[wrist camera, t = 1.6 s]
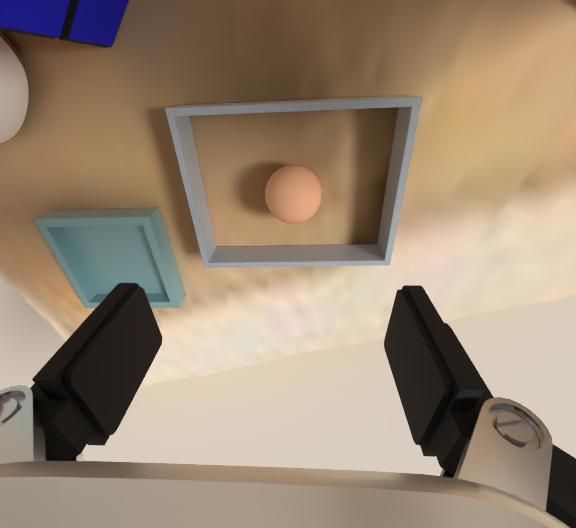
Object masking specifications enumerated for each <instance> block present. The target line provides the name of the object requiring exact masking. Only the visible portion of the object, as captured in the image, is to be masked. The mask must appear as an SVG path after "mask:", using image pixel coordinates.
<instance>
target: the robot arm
mask: <svg viewBox="0 0 576 528" xmlns="http://www.w3.org/2000/svg"><path fill="white" fill-rule="evenodd" d="M161 344H162V335H161V333H160V330H159V327H158V325H157V322H156V320H155V317H154V314H153V312H152V309H151V306H150V304H149V301H148V299H147V296H146V293H145V291H144V289H143V288H142V287H140V286H139V284H137V283H119V284H117V285H116V286H115V287H114V289H113V290H112V291H111V292H110V293H109V294H108V295H107V296H106V297H105V299H104V300H103V301H102V302H101V303H100V304H99V305H98V306H97V307H96V309H95V310H94V311H93V312H92V313H91V314H90V315H89V316H88V318H87V319H86V320H85V321H84V322H83V323H82V324H81V325H80V326H79V328H78V329H77V330H76V331H75V332H74V333H73V334H72V335H71V336H70V338H69V339H68V340H67V341H66V342H65V343H64V344H63V345H62V347H61V348H60V349H59V350H58V351H57V352H56V353H55V355H53V357H52V358H51V359H50V360H49V361H48V362H47V363H46V364H45V366H44V367H43V368H42V369H41V370H40V371H39V372H38V373H37V375H36V376H35V377H34V378H33V379H32V380H33V381H34V382H35V384H34V385H33V386H32V387H31V388H28V387H27V386H20V385H19V386H13V387H9V388H6V389H3V390H0V528H576V459H575V458H574V457H572V456H571V455H569V454H567V453H566V452H564V451H563V450H561V449H560V448H558V447H556V446H555V445H553V444H552V438H551V435H550V433H549V431H548V429H547V428H546V426H545V425H544V424H543V422H542V421H541V420H540V419H539V418H538V417H537V416H536V415H535V414H534V413H533V412H531V411H530V410H529V409H527V408H526V407H524V406H523V405H521V404H519V403H517V402H514V401H512V400H510V399H505V398H494V397H493V396H492V394H491V392H490V391H489V389H488V388H487V386H486V384H485V383H484V381H483V379H482V378H481V377H480V375H479V373H478V371H477V370H476V368H475V366H474V365H473V363H472V361H471V360H470V358H469V356H468V355H467V353H466V352H465V350H464V348H463V347H462V345H461V343H460V342H459V340H458V338H457V337H456V335H455V334H454V332H453V330H452V329H451V327H450V326H449V325H448V324H446V323H444V322H443V321H442V319H441V317H440V316H439V314H438V312H437V310H436V309H435V307H434V305H433V304H432V302H431V300H430V299H429V297H428V295H427V294H426V292H425V290H424V289H423V287H422V286H403V288H402V290H398V291H397V293H396V297H395V301H394V305H393V309H392V313H391V317H390V321H389V324H388V328H387V332H386V336H385V341H384V347H385V352H386V355H387V358H388V361H389V364H390V368H391V370H392V374H393V377H394V380H395V383H396V386H397V390H398V393H399V396H400V399H401V402H402V405H403V408H404V412H405V415H406V418H407V421H408V424H409V428H410V431H411V434H412V437H413V440H414V442H415V444H416V445H420V446H421V449H422V452H423V455H424V456H437V459H438V462H439V465H440V466H441V467H442V468H443V469H442V472H441V475H440V476H432V475H424V474H407V473H390V472H374V471H353V470H329V469H304V468H279V467H278V468H277V467H251V466H250V467H249V466H224V465H195V464H165V463H130V462H99V461H83V454H82V451H83V449H84V447H85V446H86V444H88V445H105V443H106V442H107V440H108V438H109V436H110V435H112V434H114V433H115V431H116V430H117V428H118V426H119V425H120V423H121V420H122V419H123V417H124V415H125V413H126V411H127V409H128V407H129V405H130V404H131V402H132V400H133V398H134V396H135V394H136V392H137V390H138V388H139V386H140V385H141V383H142V381H143V379H144V377H145V375H146V373H147V371H148V369H149V367H150V366H151V364H152V362H153V360H154V358H155V356H156V354H157V352H158V350H159V348H160V346H161Z"/></svg>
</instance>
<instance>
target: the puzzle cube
mask: <svg viewBox="0 0 576 528" xmlns="http://www.w3.org/2000/svg"><path fill="white" fill-rule="evenodd" d="M127 3H128V0H0V30H5V31H11V32H17V33H23V34H28V35H34V36H40V37H46V38H52V39H53V38H59V39H61V40H65V41H71V42H77V43H82V44H88V45H94V46H100V47H112V45H113V42H114V39H115V36H116V33H117V31H118V28H119V25H120V22H121V20H122V17H123V14H124V11H125V9H126V6H127Z"/></svg>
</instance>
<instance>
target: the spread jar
mask: <svg viewBox="0 0 576 528" xmlns="http://www.w3.org/2000/svg"><path fill="white" fill-rule="evenodd" d="M29 105H30V81H29V76H28V72H27V69H26V67H25V64H24V62H23V60H22V58H21V57H20V55H19V53H18V52H17V50H16V49H15V48H14V46H13V45H12V44H11V42H10V41H9V40H8V39H7V37H6V36H5V35H4V34H3V33H2V32H1V31H0V143H3V142H5V141H7V140H9V139H10V138H12V137H13V136H14V135H15V134H16V133H17V132H18V130H19V129H20V127H21V126H22V124H23V122H24V121H25V119H26V116H27V113H28V110H29Z"/></svg>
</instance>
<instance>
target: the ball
mask: <svg viewBox="0 0 576 528" xmlns="http://www.w3.org/2000/svg"><path fill="white" fill-rule="evenodd" d="M321 199H322V189H321V185H320V182H319V180H318V178H317V177H316V175H315V174H314V173H313V172H312V171H310V170H309V169H307V168H306V167H303V166H300V165H287V166H284V167H282V168H280V169H278V170H277V171H275V172H274V173H273V174H272V176H271V177H270V178H269V180H268V182H267V185H266V189H265V200H266V204H267V206H268V208H269V210H270V212H271V213H272V214H273V215H274V216H275V217H276V218H277V219H279V220H281V221H283V222H286V223H301V222H304V221H306V220H308V219H309V218H311V217H312V216H313V215H314V214H315V213H316V211H317V210H318V208H319V206H320V203H321Z"/></svg>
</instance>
